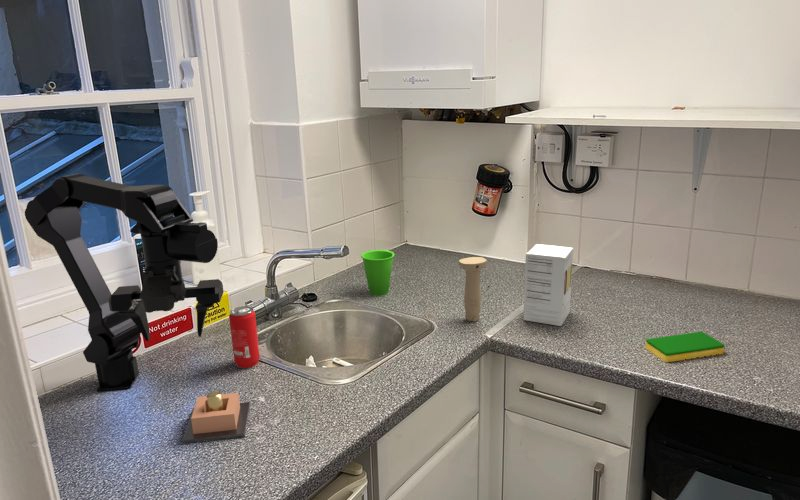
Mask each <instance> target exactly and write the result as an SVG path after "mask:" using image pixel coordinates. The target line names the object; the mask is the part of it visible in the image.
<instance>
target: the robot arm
mask: <svg viewBox="0 0 800 500" xmlns="http://www.w3.org/2000/svg"><path fill="white" fill-rule="evenodd" d="M28 201H29V202H27V204H26V208H25V210H24V216H25V220H26V221H27V223H28V224H29V225H30V227H31V229H32V230H33V231H34V233H35V234H36V236H37V237H38V238H40V239H42V240H44V241H45V242H46V243H48V244H50V245H51V246H53V248H54V250H55V252H56V253H57V256H58V258H59V260H60V261H61V263H62V265H63V267H64V269H65V270H66V272H67V274H68V276H69V279H70V280H71V282H72V283H73V285H74V287H75V289H76V291H77V293H78V295H79V296H80V299H81V301H82V302H83V304H84V306H85V308H86V310H87V312H88V314H89V316H88V324H87V326H88V327H87V332H88V334H89V336H90V339H91V341H90V342H89V343H88V345H87V346H86V347H85V349H84V350H83V351H82V354H83V356H84V358H85V360H86V362H88V363H91V364H94V366H95V367H94V368H95V371H96V376H97V382H98V385H97V387H95V391H96V392H102V391H103V392H104V391H111V390H112V391H113V390H123V389H131V387H133V384H134V383H135V381H136V380H137V378H138V376H139V375H140V371H139V367H138V361H137V357H136V356H134V354H133V350H134V349H136V348H138V347H139V344H140V343H139V342H140V338H141V336H143V338H144V339H145V341H146V342H150V340H151V332H150V325H149V320H148V317H147V316H148V315H147V313H149V314H150V313H153V312H170V311H172V310H173V309H174V307H175V303H179V302H180V301H181V302H182V301H185V299H191V298H195V301H196V302H197V303H196V305H195V310H196V323H197V325H196V326H197V328H196V329H197V335H198V338H200V337H202V334H203V331H204V330H203V329H204V326H205V321H206V316H207V312H208V309H210V308H212V307H214V305H215V304H218V303H220V302H221V300H222V297H223V295H224V292H225V291H224V285H223V282H222V281H221V280H220V279H219V278H216V279H204V280H199V282H198V284H197V286H192V287H189V286H188V287H186V286H185V282H184V278H183V273H182V266H181V263H182V262H190V263H191V262H193V263H201V264H209V263H210V262H212V260H214V258H215V257H216V255H217V252H218V246H219V245H218V238H216V235H215V234H214V232H213V231H211V230H210V229H208V224H207V222H194V219H193V217H192V216H191V214H190V213H189V211H188V210H187V209H186V207H185V206H184V205H183V203H182V202H181V201H180V199H179V198H178V197H177V195H176V193H174V191H173V187H170V186H169V185H166V184H146V185H145V184H143V185H128V184H124V183H120V182H119V183H118V182H115V181H111V180H106V179H103V178H102V179H101V178H97V177H92V176H87V175H86V174H83V173H80V172H79V173H73V174H67V175H63V176H60V177H58V178H57V179H55V180H54V182H53V183H52V184H51V185H50V186H49V187H47V188H46V189H45V190H43V191H42V192H39V194H37V195H36V196H35V197H34V198H33V199H31V200H28ZM85 203H90V204H94V205H98V206H103V207H106V208H111V209H115V210H118V211H121V212H122V213H123V215H124V216H125V217H126V218H127V219H129V220H132V221H134V222H136V223H135V225H133V226H132V227H131V228H130V230H129V231H130V234H135V235H137V234H138V235H140V239H141V244H142V251H143V256H144V264H145V268H144V276H145V278H144V283H143V285H142V289H141V287H140V286H139V285H138V284H136V285H135V284H134V285H124V286H118V287H117V288H116V289H115V290H114V292H111V290H110V289H109V287H108V284H107V283H106V281H105V279H104V278H103V275H102V273H101V271H100V269H99V268H98V265H97V264H96V262H95V260H94V258H93V256H92V254H91V252H90V250H89V249H88V247H87V245H86V242H85V241H84V239H83V237H82V233H81V232H82V223H83V218H82V216H81V213H80V210H81V209H82V207H83V206H84V205H85ZM169 217H170V218H169Z"/></svg>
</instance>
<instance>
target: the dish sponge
mask: <svg viewBox="0 0 800 500" xmlns="http://www.w3.org/2000/svg"><path fill="white" fill-rule="evenodd" d="M645 349H646V350H648V351H649V352H650V353H652V354H654V355H655V356H656V357H658V358H659V359H660V360H661V361H663V362H665V363H671V362H678V361H685V359H686V360H690V359H691V358H692V359H697V358H696V357H699V358H704V356H706V357H711V356H710V355H712V356H717V355H716V354H719V355H724V353H725V352H724V351H725V343H722V342H721V341H719V340H717V339H716V338H714V337H712V336H710V335H708V334H707V333H705V332H704V331H696V332H688V333H683V334H682V333H681V334H675V335H674V334H673V335H667V336H661V337H653V338H646V339H645Z"/></svg>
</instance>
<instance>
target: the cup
mask: <svg viewBox="0 0 800 500" xmlns="http://www.w3.org/2000/svg"><path fill="white" fill-rule="evenodd" d="M360 257H361V259H362V262H363V267H364V272H365V276H366V277H365V278H366V281H367V286H368V290H369V294H370V295H371V296H374V297H383V296H387V295H388V294H389V291H390V285H391V277H392V269H393V261H394V257H395V253H394V252H393V251H392V250H387V249H372V250H368V251H364V252H362V254H360Z"/></svg>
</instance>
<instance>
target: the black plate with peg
mask: <svg viewBox="0 0 800 500" xmlns="http://www.w3.org/2000/svg"><path fill="white" fill-rule="evenodd" d="M222 394H223V393H222V392H221V391H217V390H216V391H212V392H209V393H208V394H207V395H206V396H207V399H208V407H209V412H213V411H222V410H224V408H223V401H222ZM250 406H251V402H250V401H249V402H248V401H247V402H240V411H239V417H238V422H237V427H236V429H235V430H226V431H217V432H208V433H200V434H193V428H192V422H191V417H192V414H193V411H194V408H195V407H193V408H192V411H191V414H190V417H189V420H188V423H187V425H186V429H185V431H184V434H183V438H182V444H189V443H190V444H192V443H199V442H200V443H201V442H209V441H216V440H226V439H236V438H244V437H245V436H246V431H247V424H248V420H249V419H248V418H249V414H250V413H249V412H250Z"/></svg>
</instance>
